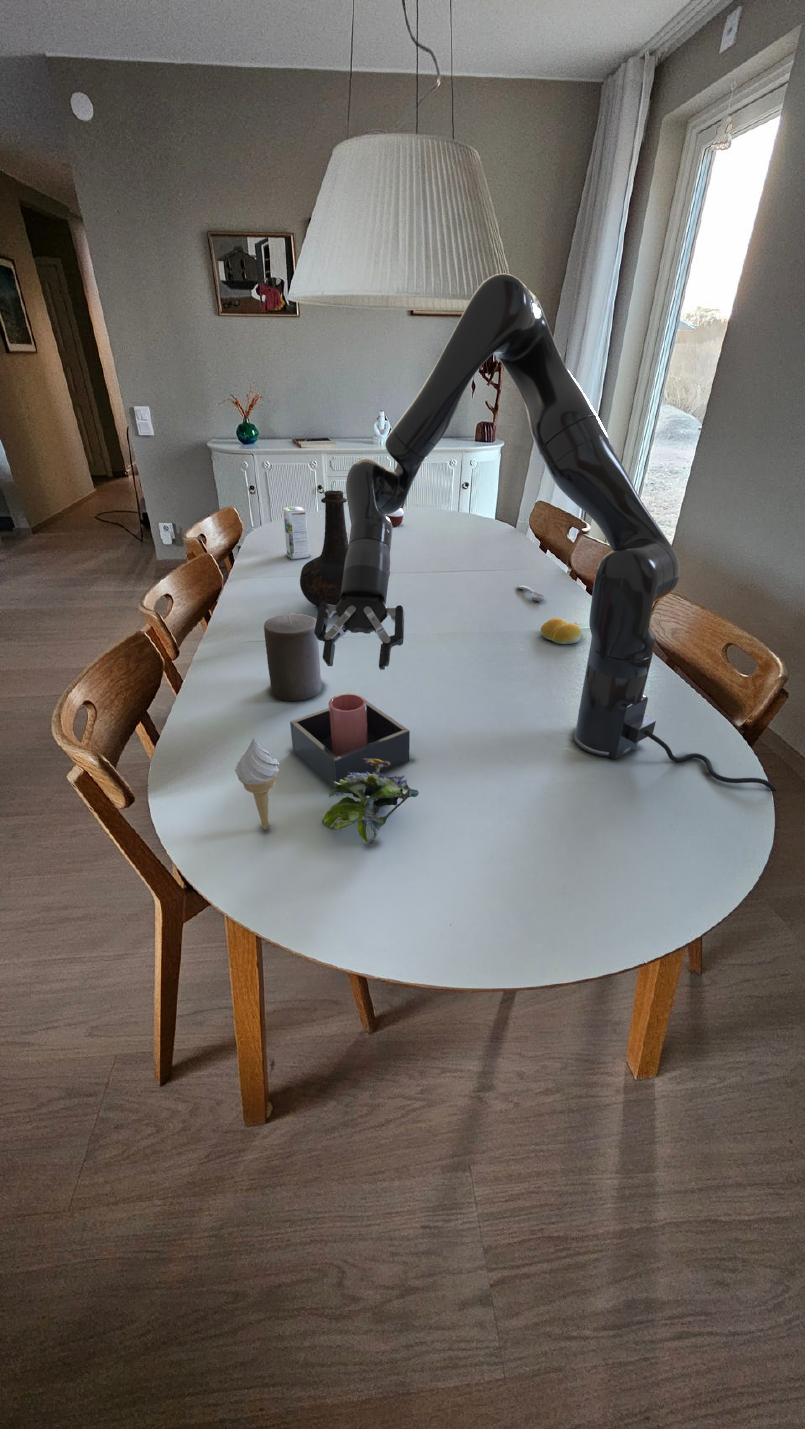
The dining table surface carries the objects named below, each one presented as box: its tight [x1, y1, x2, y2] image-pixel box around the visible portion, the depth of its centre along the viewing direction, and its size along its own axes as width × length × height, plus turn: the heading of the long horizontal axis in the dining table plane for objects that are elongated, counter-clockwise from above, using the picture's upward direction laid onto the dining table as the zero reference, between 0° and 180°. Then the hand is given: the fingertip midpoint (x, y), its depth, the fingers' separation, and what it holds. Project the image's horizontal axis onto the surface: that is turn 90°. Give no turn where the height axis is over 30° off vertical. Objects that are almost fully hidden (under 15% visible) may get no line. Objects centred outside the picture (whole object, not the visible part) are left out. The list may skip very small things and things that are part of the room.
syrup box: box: [282, 506, 310, 560], centre depth 191 cm, size 6×6×14 cm
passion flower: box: [321, 758, 420, 845], centre depth 84 cm, size 11×11×12 cm
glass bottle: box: [299, 489, 349, 609], centre depth 151 cm, size 18×18×28 cm
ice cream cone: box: [234, 737, 280, 831], centre depth 81 cm, size 6×6×15 cm
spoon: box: [517, 585, 545, 602], centre depth 164 cm, size 3×12×2 cm, turn 16°
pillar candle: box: [263, 612, 322, 702], centre depth 116 cm, size 10×10×15 cm
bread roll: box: [540, 617, 583, 645], centre depth 140 cm, size 8×9×4 cm
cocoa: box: [386, 494, 409, 527], centre depth 225 cm, size 10×6×12 cm, turn 91°
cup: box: [328, 692, 368, 757], centre depth 98 cm, size 6×6×9 cm
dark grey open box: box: [289, 700, 411, 790], centre depth 99 cm, size 14×14×6 cm
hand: (355, 666), depth 99 cm, fingers open, 8 cm apart
